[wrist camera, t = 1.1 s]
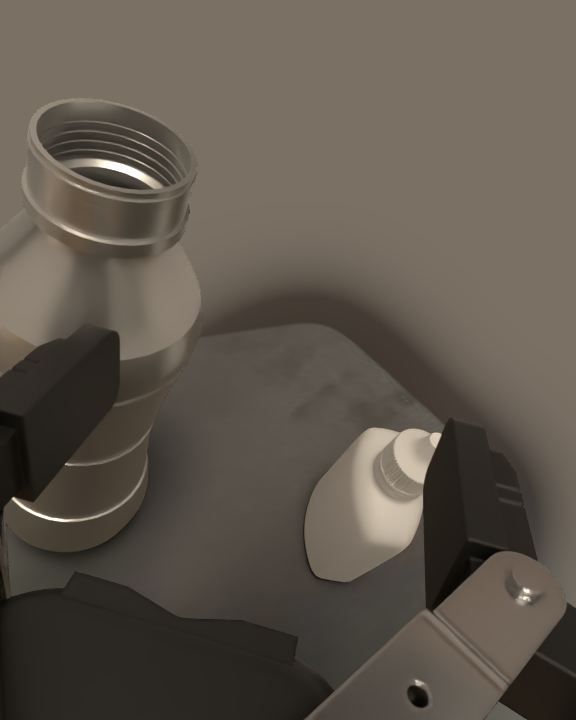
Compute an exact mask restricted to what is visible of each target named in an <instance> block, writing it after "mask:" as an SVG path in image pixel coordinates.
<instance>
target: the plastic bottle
mask: <svg viewBox="0 0 576 720" xmlns="http://www.w3.org/2000/svg"><path fill="white" fill-rule="evenodd" d="M196 169H197V160H196V156H195V153H194V151H193V149H192V147H191V146H190V145H189V143H188V142H187V141H186V140H185V138H183V137H182V136H181V135H180V134H179V133H178V132H177V131H176V130H175V129H173V128H172V127H170V126H169V125H168V124H166V123H164V122H163V121H161V120H159V119H158V118H156V117H154V116H152V115H150V114H148V113H145V112H143V111H141V110H138V109H135V108H133V107H130V106H127V105H123V104H119V103H115V102H111V101H105V100H99V99H87V98H76V99H65V100H60V101H55V102H52V103H50V104H47V105H45V106H43V107H42V108H40V109H39V110H38V111H36V112H35V114H34V115H33V117H32V118H31V121H30V126H29V129H28V133H27V165H26V167H25V168H24V170H23V174H22V179H21V196H22V203H23V206H24V208H25V209H24V210H22V211H21V212H20V213H18V214H16V215H15V216H14V217H13V218H12V219H11V220H10V221H9V222H8V223H6V224H5V225H4V226H3V227H2V228H1V229H0V377H1V376H2V375H3V374H5V373H6V372H7V371H8V370H12V367H13V366H15V365H16V364H17V363H18V362H20V361H21V360H24V357H26V356H27V355H28V354H29V353H31V352H32V351H33V350H34V349H36V348H37V347H38V346H40V345H43V344H45V343H48V342H50V341H53V340H55V339H58V338H63V339H67V338H68V337H69V336H71V335H72V334H73V333H74V332H75V331H76V330H78V329H79V328H80V327H81V326H82V325H84V324H91V325H94V326H98V327H102V328H106V329H110V330H114V331H117V332H118V334H119V336H120V387H119V392H118V396H117V399H116V401H115V403H114V405H113V407H112V408H111V410H110V411H109V412H108V413H107V414H106V416H105V417H104V418H103V419H102V420H101V422H100V423H99V424H98V425H97V426H96V428H95V429H94V430H93V431H92V432H91V434H90V435H89V436H88V437H87V439H86V440H85V441H84V442H83V443H82V445H81V446H80V447H79V448H78V449H77V451H76V452H75V453H74V454H73V455H72V457H71V458H70V459H69V460H68V461H67V463H66V464H65V465H64V466H63V468H62V469H61V470H60V471H59V472H58V474H57V475H56V476H55V477H54V478H53V480H52V481H51V482H50V483H49V484H48V486H47V487H46V488H45V489H44V490H43V492H42V493H41V494H40V495H39V497H38V498H37V499H36V500H35V501H34V503H33V502H29V501H26V500H22V499H19V498H15V497H13V498H12V499H11V500H10V501H9V502H8V503H7V505H6V506H5V507H4V510H5V518H6V524H7V525H8V527H9V528H10V530H11V531H12V532H14V533H15V534H16V535H17V536H18V537H19V538H20V539H21V540H23V541H25V542H27V543H28V544H30V545H32V546H34V547H37V548H40V549H43V550H47V551H54V552H76V551H81V550H85V549H90V548H92V547H95V546H97V545H100V544H102V543H104V542H106V541H107V540H109V539H110V538H112V537H113V536H115V535H116V534H117V533H118V532H119V531H120V530H121V529H122V528H123V527H125V525H126V524H127V523H128V522H129V521H130V520H131V519H132V518H133V516H134V515H135V513H136V512H137V511H138V509H139V508H140V506H141V504H142V501H143V499H144V497H145V494H146V489H147V484H148V456H147V449H148V442H149V435H150V430H151V428H152V426H153V423H154V420H155V418H156V416H157V414H158V411H159V409H160V406H161V404H162V402H163V400H164V399H165V397H166V396H167V394H168V392H169V391H170V389H171V388H172V386H173V384H174V383H175V381H176V380H177V378H178V376H179V375H180V373H181V372H182V370H183V368H184V366H185V365H186V364H187V362H188V360H189V358H190V355H191V353H192V351H193V349H194V347H195V345H196V343H197V340H198V338H199V336H200V333H201V327H202V322H203V317H202V306H201V294H200V286H199V283H198V281H197V278H196V275H195V273H194V270H193V268H192V266H191V264H190V262H189V260H188V257H187V255H186V253H185V251H184V250H183V248H182V247H181V245H180V244H179V240H180V239H181V237H182V236H183V234H184V232H185V228H186V225H187V221H188V217H189V213H190V210H189V199H190V196H191V193H192V189H193V186H194V183H195V179H196V175H197V171H196Z"/></svg>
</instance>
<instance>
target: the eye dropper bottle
mask: <svg viewBox="0 0 576 720" xmlns="http://www.w3.org/2000/svg"><path fill="white" fill-rule="evenodd" d="M440 437H441V434H440V433H432V434H429V433H428V432H425V431H423V430H419V429H407V430H404V431H402V432H400V433H399V432H396V431H392V430H388V429H383V428H369V429H368V430H366V431H365V432H364V433H362V434H361V435H360V436H359V437H358V438H357V439H356V440H355V441H354V442H353V443H352V445H351V446H350V447H349V448H348V449H347V450H346V451H345V452H344V453H343V455H342V456H341V457H340V458H339V459H338V460H337V461H336V462H335V463H334V465H333V466H332V467H331V468H330V469H329V470H328V471H327V472H326V474H325V475H324V476H323V477H322V478H321V479H320V480H319V482H318V483H317V485H316V487H315V489H314V491H313V493H312V495H311V498H310V500H309V504H308V507H307V511H306V516H305V526H304V537H305V547H306V552H307V557H308V561H309V564H310V567H311V569H312V571H313V573H314V574H315V575H316V576H318V577H320V578H322V579H327V580H333V581H339V582H349V581H352V580H354V579H355V578H357V577H359V576H361V575H362V574H364V573H366V572H368V571H369V570H371V569H373V568H375V567H376V566H378V565H380V564H382V563H383V562H385V561H387V560H389V559H390V558H392V557H394V556H395V555H397V554H398V553H400V552H401V551H403V550H404V549H405V548H406V547H407V546H408V545H409V544H410V543H411V541H412V539H413V537H414V535H415V533H416V530H417V527H418V525H419V522H420V518H421V514H422V509H423V485H424V479H425V475H426V471H427V468H428V466H429V463H430V461H431V458H432V456H433V454H434V451H435V449H436V447H437V444H438V442H439V439H440Z"/></svg>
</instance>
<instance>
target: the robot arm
mask: <svg viewBox="0 0 576 720" xmlns="http://www.w3.org/2000/svg"><path fill="white" fill-rule="evenodd" d="M119 387H120V336H119V334H118V332H117V331H114V330H110V329H106V328H102V327H98V326H94V325H91V324H84V325H82V326H81V327H80V328H79V329H78V330H76V331H75V332H74V333H73V334H72V335H71V336H69V337H68V338H67V339H63V338H58V339H55V340H53V341H50V342H48V343H45V344H43V345H40V346H38V347H37V348H36V349H34V350H33V351H32V352H31V353H29V354H28V355H27V356H26V357H24V360H21V361H20V362H18V363H17V364H16V365H15V366H13V367H12V370H8V371H7V372H6V373H5V374H3V375H2V376H1V377H0V720H484V719H485V718H486V717H487V715H488V714H489V713H490V711H491V710H492V709H493V708H494V706H495V705H496V704H497V702H498V701H499V702H500V703H502V704H504V705H505V706H507V707H508V708H510V709H511V710H513V711H515V712H516V713H518V714H519V715H521V716H522V717H524V718H525V719H527V720H576V608H575V607H573V606H572V605H570V604H569V603H567V601H566V597H565V593H564V591H563V588H562V587H561V585H560V583H559V582H558V580H557V579H556V578H555V576H553V574H552V573H551V572H550V571H549V570H548V569H547V568H545V567H544V566H543V565H542V564H540V563H539V562H538V560H537V557H536V552H535V548H534V544H533V540H532V536H531V532H530V528H529V524H528V520H527V516H526V512H525V509H524V508H523V505H524V504H523V499H522V495H521V493H519V492H520V487H519V484H518V480H517V475H516V472H515V470H514V469H513V467H512V466H511V465H510V463H509V462H508V461H507V459H506V458H505V456H504V455H503V454H502V453H498V452H494V451H491V450H489V446H488V442H487V436H486V431H485V428H484V426H481V425H477V424H473V423H470V422H465V421H461V420H458V419H454V418H450V419H449V420H448V422H447V423H446V425H445V428H444V430H443V432H442V435H441V437H440V439H439V442H438V444H437V447H436V449H435V451H434V454H433V456H432V458H431V461H430V463H429V466H428V468H427V471H426V475H425V479H424V485H423V518H424V554H425V590H426V609H424V610H423V611H421V612H420V613H419V614H418V615H416V616H415V617H414V618H413V619H412V620H411V621H410V622H409V623H408V624H407V625H406V626H405V627H404V628H402V629H401V630H400V631H399V632H398V633H397V634H396V635H395V636H394V637H393V638H392V639H391V640H390V641H388V642H387V643H386V644H385V645H384V646H383V647H382V648H381V649H380V650H379V651H378V652H377V653H375V654H374V655H373V656H372V657H371V658H370V659H369V660H368V661H367V662H366V663H365V664H364V665H363V666H361V667H360V668H359V669H358V670H357V671H356V672H355V673H354V674H353V675H352V676H351V677H350V678H349V679H347V680H346V681H345V682H344V683H343V684H342V685H341V686H340V687H339V688H338V689H337V690H336V691H334V690H333V688H332V687H331V686H330V685H329V683H328V682H327V681H326V680H325V679H324V678H323V677H322V676H321V675H320V674H319V673H318V672H316V671H315V670H314V669H313V668H311V667H310V666H309V665H308V664H306V663H305V662H304V661H302V660H300V659H299V658H297V657H296V656H295V651H296V646H297V641H298V637H296V636H293V635H290V634H286V633H283V632H279V631H276V630H273V629H269V628H266V627H262V626H259V625H256V624H252V623H249V622H246V621H242V620H217V619H191V618H180V617H177V616H175V615H173V614H172V613H170V612H168V611H167V610H165V609H163V608H162V607H160V606H159V605H157V604H155V603H154V602H152V601H150V600H149V599H147V598H146V597H144V596H142V595H141V594H139V593H138V592H136V591H134V590H133V589H131V588H129V587H127V586H124V585H120V584H117V583H113V582H110V581H107V580H103V579H100V578H96V577H93V576H90V575H86V574H83V573H79V572H76V571H75V572H74V574H73V575H72V577H71V579H70V580H69V582H68V583H67V585H66V586H65V588H55V589H43V590H37V591H32V592H27V593H23V594H20V595H16V596H13V597H11V591H10V579H9V564H8V549H7V534H6V518H5V510H4V507H5V506H6V505H7V503H8V502H9V501H10V500H11V499H12V498H13V497H15V498H19V499H22V500H26V501H29V502H33V503H34V501H35V500H36V499H37V498H38V497H39V495H40V494H41V493H42V492H43V490H44V489H45V488H46V487H47V486H48V484H49V483H50V482H51V481H52V480H53V478H54V477H55V476H56V475H57V474H58V472H59V471H60V470H61V469H62V468H63V466H64V465H65V464H66V463H67V461H68V460H69V459H70V458H71V457H72V455H73V454H74V453H75V452H76V451H77V449H78V448H79V447H80V446H81V445H82V443H83V442H84V441H85V440H86V439H87V437H88V436H89V435H90V434H91V432H92V431H93V430H94V429H95V428H96V426H97V425H98V424H99V423H100V422H101V420H102V419H103V418H104V417H105V416H106V414H107V413H108V412H109V411H110V410H111V408H112V407H113V405H114V403H115V401H116V399H117V396H118V392H119Z"/></svg>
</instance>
